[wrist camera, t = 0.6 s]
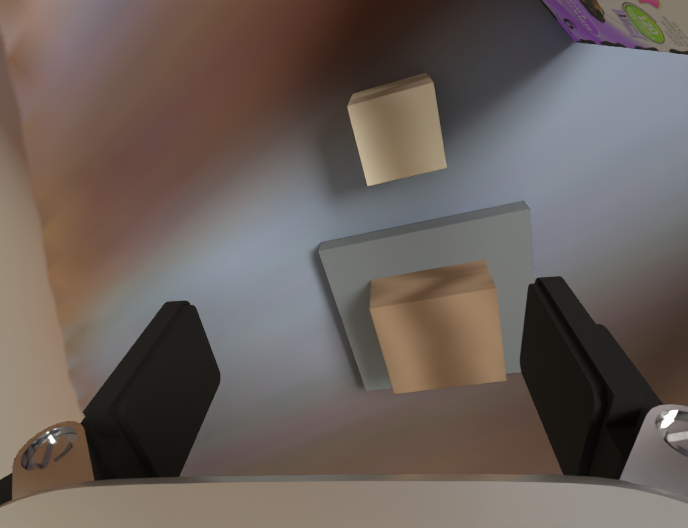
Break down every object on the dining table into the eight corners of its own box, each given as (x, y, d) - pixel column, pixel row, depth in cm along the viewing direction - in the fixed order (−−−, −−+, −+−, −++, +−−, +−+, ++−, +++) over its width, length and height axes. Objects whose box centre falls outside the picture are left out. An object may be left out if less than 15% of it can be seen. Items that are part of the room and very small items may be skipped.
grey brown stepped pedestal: (523, 201, 31) (548, 233, 26) (534, 358, 39) (554, 405, 34) (320, 242, 34) (310, 278, 30) (366, 379, 42) (364, 425, 37)
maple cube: (426, 72, 27) (433, 82, 23) (438, 146, 30) (446, 167, 25) (352, 93, 28) (346, 106, 24) (370, 163, 31) (367, 186, 26)
